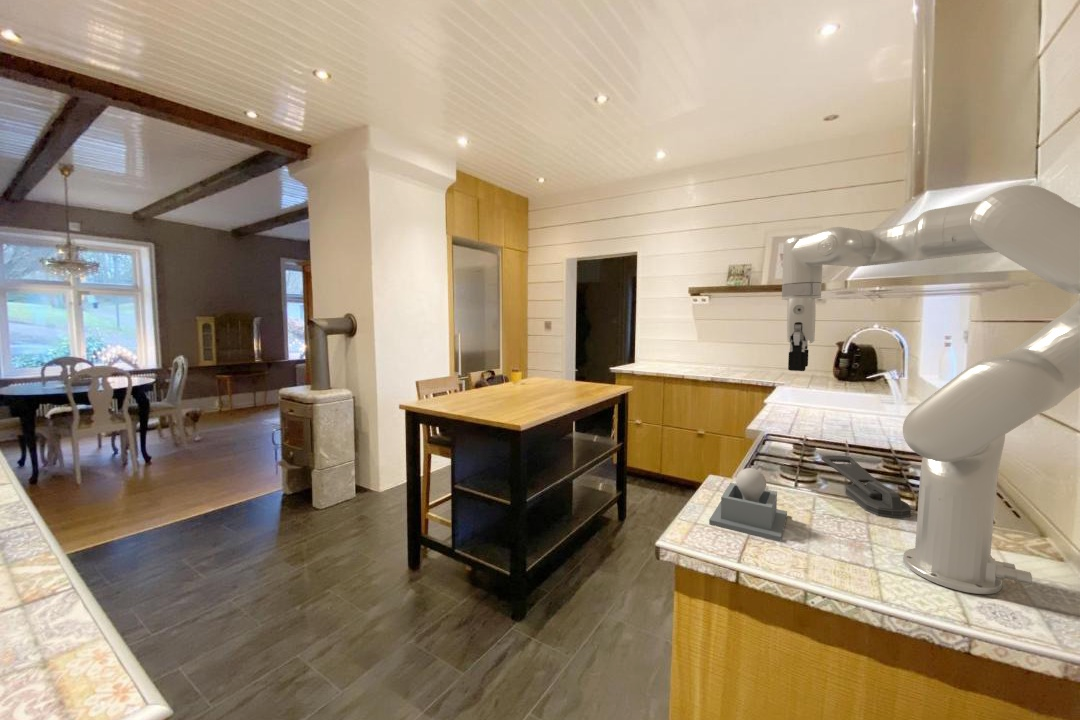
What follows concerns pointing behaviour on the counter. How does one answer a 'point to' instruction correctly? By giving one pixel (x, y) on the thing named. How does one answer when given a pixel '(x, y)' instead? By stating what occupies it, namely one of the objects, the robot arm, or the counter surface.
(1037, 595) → the counter surface
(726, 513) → the socket holder
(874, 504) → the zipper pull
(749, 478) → the lightbulb
